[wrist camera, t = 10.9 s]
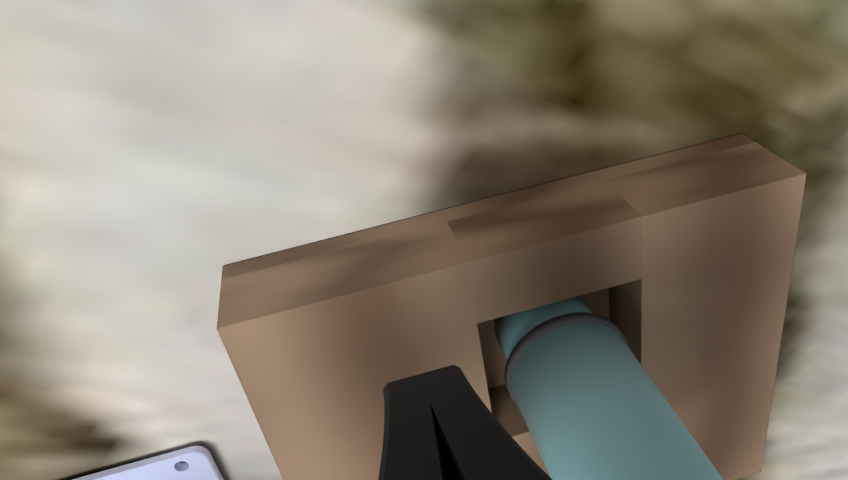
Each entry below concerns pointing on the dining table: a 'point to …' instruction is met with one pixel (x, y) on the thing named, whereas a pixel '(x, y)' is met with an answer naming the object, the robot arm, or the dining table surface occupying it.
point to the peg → (592, 399)
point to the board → (529, 303)
